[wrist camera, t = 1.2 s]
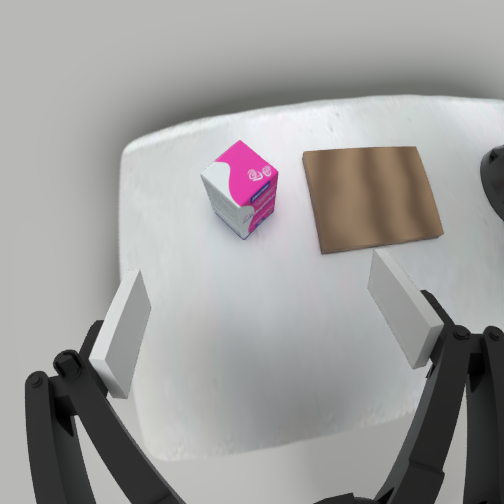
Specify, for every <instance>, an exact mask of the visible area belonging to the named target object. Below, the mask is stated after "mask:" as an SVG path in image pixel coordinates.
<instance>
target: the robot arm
mask: <svg viewBox="0 0 504 504" xmlns="http://www.w3.org/2000/svg"><path fill="white" fill-rule="evenodd" d="M481 178H482V183H483V186H484V189H485V192H486V195H487V197H488V199H489V201H490V203H491V205H492V206H493V208H494V209H495V211H496V212H497V213H498V215H499V216H500V217H501V218H502V219H503V220H504V145H501V146H498V147H495V148H493V149H492V150H491V151H489V152H488V153H487V154H486V155H485V156H484V158H483V160H482V163H481ZM368 290H369V292H370V293H371V295H372V297H373V299H374V300H375V302H376V304H377V305H378V307H379V309H380V311H381V312H382V314H383V316H384V318H385V319H386V321H387V323H388V325H389V326H390V328H391V330H392V332H393V334H394V336H395V337H396V339H397V341H398V343H399V345H400V347H401V348H402V350H403V352H404V354H405V356H406V358H407V360H408V362H409V364H410V365H411V367H412V369H416V368H420V367H423V366H426V364H427V362H428V360H429V358H430V359H431V361H432V362H433V364H432V366H431V368H430V370H429V372H428V374H427V376H426V378H427V381H426V384H425V388H424V391H423V394H422V397H421V399H420V402H419V405H418V408H417V411H416V413H415V416H414V419H413V421H412V424H411V427H410V429H409V431H408V434H407V436H406V439H405V441H404V443H403V446H402V448H401V450H400V453H399V455H398V457H397V459H396V461H395V463H394V466H393V467H392V470H391V472H390V474H389V476H388V478H387V480H386V482H385V483H384V485H383V486H382V488H381V489H380V491H379V492H378V493H377V495H376V497H375V498H374V500H372V499H367V498H362V497H354V496H353V493H348V494H344V495H340V496H335V497H330V498H326V499H323V500H321V501H318V502H316V503H314V504H434V503H435V500H436V498H437V496H438V493H439V491H440V488H441V485H442V483H443V480H444V475H445V473H444V472H443V471H442V469H443V465H444V462H445V460H446V457H447V453H448V450H449V447H450V444H451V440H452V437H453V434H454V430H455V426H456V423H457V419H458V415H459V411H460V406H461V401H462V397H463V392H464V387H465V383H466V399H467V460H466V477H465V487H464V496H463V504H504V333H503V332H502V330H501V329H499V328H497V327H495V326H488V327H486V328H485V330H484V332H483V334H471V333H470V331H469V330H468V329H467V328H466V327H463V326H461V325H455V324H454V322H453V321H452V319H451V318H450V317H449V315H448V314H447V313H446V311H445V310H444V309H443V308H442V306H441V305H440V304H439V303H438V301H437V300H436V298H435V297H434V296H433V295H432V294H431V293H429V292H428V291H426V290H421V291H420V290H419V289H418V288H417V286H416V285H415V284H414V283H413V281H412V280H411V279H410V277H409V276H408V275H407V274H406V272H405V271H404V270H403V269H402V267H401V266H400V265H399V264H398V263H397V261H396V260H395V259H394V258H393V256H392V255H391V254H390V253H389V252H388V250H387V249H386V248H380V249H374V252H373V259H372V265H371V271H370V277H369V283H368ZM150 311H151V305H150V301H149V298H148V295H147V292H146V288H145V285H144V281H143V278H142V275H141V271H140V269H132V270H127V272H126V274H125V276H124V278H123V280H122V282H121V284H120V287H119V289H118V291H117V293H116V295H115V297H114V300H113V302H112V304H111V306H110V309H109V311H108V313H107V315H106V318H105V320H97V321H96V322H95V323H94V324H93V325H92V326H91V327H90V329H89V331H88V333H87V336H86V338H85V340H84V343H83V345H82V347H81V349H80V352H79V354H78V353H77V352H76V351H75V350H65V351H62V352H61V353H59V354H58V355H57V356H56V357H55V359H54V362H53V367H54V369H55V370H56V371H57V373H58V374H59V375H58V376H53V377H48V376H47V374H45V372H43V371H36V372H34V373H32V374H31V375H29V377H28V378H27V380H26V382H25V413H26V431H27V443H28V453H29V461H30V469H31V475H32V481H33V487H34V492H35V497H36V502H37V504H96V501H95V498H94V495H93V492H92V489H91V486H90V482H89V479H88V475H87V472H86V468H85V464H84V460H83V456H82V452H81V448H80V443H79V439H78V435H77V429H76V424H75V418H74V416H75V415H78V416H79V418H80V420H81V422H82V424H83V426H84V427H85V429H86V432H87V433H88V435H89V437H90V439H91V441H92V443H93V444H94V446H95V448H96V450H97V451H98V453H99V455H100V456H101V458H102V460H103V461H104V463H105V465H106V466H107V468H108V470H109V471H110V473H111V474H112V476H113V477H114V479H115V481H116V482H117V484H118V485H119V486H120V488H121V489H122V491H123V492H124V494H125V495H126V497H127V498H128V499H129V501H130V502H131V503H132V504H186V503H185V502H184V501H183V500H182V499H181V498H180V496H179V495H178V494H177V493H176V492H175V491H174V490H173V488H171V486H170V485H169V484H168V483H167V481H166V480H165V479H164V478H163V477H162V476H161V474H160V473H159V472H158V471H157V470H156V468H155V467H154V466H153V464H152V463H151V462H150V460H149V459H148V458H147V457H146V455H145V454H144V453H143V451H142V450H141V449H140V447H139V446H138V444H137V443H136V442H135V440H134V439H133V438H132V436H131V435H130V433H129V432H128V430H127V429H126V427H125V426H124V425H123V423H122V421H121V420H120V419H119V417H118V416H117V414H116V412H115V411H114V409H113V408H112V406H111V405H110V403H109V401H108V400H107V398H106V397H107V393H108V391H109V393H110V394H111V396H112V397H113V398H122V399H127V398H128V394H129V391H130V386H131V382H132V378H133V374H134V370H135V366H136V362H137V358H138V354H139V350H140V347H141V343H142V339H143V336H144V332H145V328H146V325H147V321H148V318H149V314H150Z"/></svg>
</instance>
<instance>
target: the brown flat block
mask: <svg viewBox="0 0 504 504" xmlns="http://www.w3.org/2000/svg"><path fill="white" fill-rule="evenodd" d="M302 160H303V164H304V169H305V173H306V178H307V182H308V187H309V192H310V196H311V201H312V206H313V211H314V216H315V221H316V227H317V232H318V237H319V243H320V248H321V254H327V253H334V252H341V251H348V250H356V249H363V248H370V247H377V246H384V245H391V244H398V243H405V242H412V241H418V240H425V239H432V238H438V237H439V236H441V235H443V234H444V232H443V228H442V225H441V221H440V217H439V214H438V210H437V207H436V203H435V200H434V197H433V194H432V190H431V187H430V184H429V181H428V178H427V175H426V172H425V170H424V167H423V164H422V161H421V158H420V156H419V153H418V151H417V148H416V147H368V148H347V149H331V150H317V151H305V152H304V153H303V158H302Z"/></svg>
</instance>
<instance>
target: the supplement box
mask: <svg viewBox="0 0 504 504" xmlns="http://www.w3.org/2000/svg"><path fill="white" fill-rule="evenodd" d="M200 175H201V178H202V181H203V183H204V186H205V188H206V191H207V193H208V196H209V199H210V201H211V204H212V206H213V209H214V211H215V213H216V214H217V215H218V216H219V217H220V218H221V219H222V220H223V221H224V222H225V223H226V224H227V225H228V226H230V227H231V228H232V229H233V230H234V231H235V232H236V233H237V234H238V235H239V236H240V237H241V238H242V239H243V240H245V239H246V238H247V237H248V236H249V234H250V233H251V232H252V231H253V230H254V229H255V228H256V227H257V226H258V225H259V224H260V223H261V222H262V221H263V220H265V219H266V218H267V217H268V216H269V215H270V214H271V213H272V212H273V211H274V205H275V197H276V189H277V180H278V171H277V170H276V169H275V168H274V167H273V166H271V165H270V164H269V163H268V162H266V161H265V160H264V159H262V158H261V157H260V156H259V155H258V154H257V153H255V152H254V151H253V150H252V149H251V148H249V147H248V146H247V145H246V144H244V143H243V142H242V141H241V140H239V141H238V142H236V143H235V144H234V145H233V146H231V147H230V148H229V149H228V150H227V151H225V152H224V153H223V154H222V155H221V156H220V157H218V158H217V159H216V160H215V161H214V162H213V163H212V164H211V165H209V166H208V167H207V168H206V169H205V170H204V171H203V172H201V173H200Z"/></svg>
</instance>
